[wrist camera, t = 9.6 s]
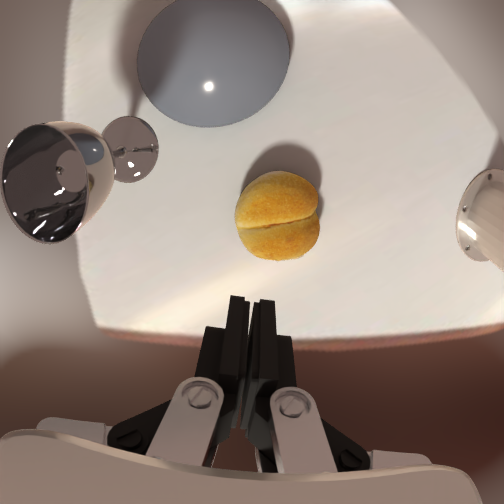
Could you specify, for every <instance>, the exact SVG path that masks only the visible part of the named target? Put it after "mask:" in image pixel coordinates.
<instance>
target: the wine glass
mask: <svg viewBox="0 0 504 504" xmlns="http://www.w3.org/2000/svg"><path fill="white" fill-rule="evenodd" d="M157 157H158V141H157V138H156V135H155V133H154V131H153V130H152V128H151V127H150V126H149V125H148V124H147V123H146V122H144V121H143V120H141V119H139V118H136V117H122V118H118V119H116V120H114V121H113V122H111V123H110V124H109V125H108V126H107V127H106V128H105V130H104V131H103V133H102V135H101V134H100V133H99V132H98V131H96V130H94V129H93V128H91V127H89V126H86V125H83V124H80V123H74V122H65V121H56V122H47V123H41V124H35V125H31V126H29V127H27V128H24V129H23V130H21V131H20V132H18V133H17V134H16V135H15V136H14V137H13V139H12V140H11V141H10V143H9V144H8V146H7V148H6V150H5V153H4V155H3V159H2V162H1V168H0V188H1V194H2V198H3V202H4V205H5V207H6V210H7V212H8V214H9V216H10V218H11V219H12V221H13V222H14V224H15V225H16V226H17V227H18V228H19V230H20V231H21V232H22V233H24V234H25V235H26V236H28V237H29V238H31V239H33V240H34V241H37V242H40V243H45V244H54V243H59V242H61V241H64V240H66V239H67V238H69V237H70V236H72V235H73V234H74V233H76V232H77V231H78V230H79V229H81V228H82V227H83V226H84V225H85V224H86V223H87V222H88V221H89V220H90V219H91V218H92V217H93V216H94V215H95V214H96V213H97V212H98V210H99V209H100V208H101V207H102V205H103V204H104V202H105V201H106V199H107V197H108V196H109V194H110V191H111V189H112V187H113V183H114V180H117V181H119V182H124V183H132V182H136V181H139V180H141V179H143V178H144V177H146V176H147V175H148V174H149V173H150V172H151V170H152V169H153V167H154V166H155V163H156V161H157Z"/></svg>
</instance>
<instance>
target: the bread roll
mask: <svg viewBox="0 0 504 504" xmlns="http://www.w3.org/2000/svg"><path fill="white" fill-rule="evenodd" d="M317 205H318V193H317V191H316V190H315V188H314V187H313V185H311V184H310V183H309V182H308V181H307V180H305V179H304V178H302V177H300V176H298V175H296V174H293V173H290V172H286V171H272V172H268V173H265V174H263V175H261V176H260V177H258V178H257V179H255V180H253V181H252V182H251V183H250V184H249V185H247V186H246V188H245V189H244V190H243V192H242V194H241V195H240V197H239V200H238V202H237V205H236V209H235V223H236V226H237V230H238V234H239V236H240V239H241V241H242V242H243V244H244V246H245V247H246V248H247V250H248V251H249V252H250V253H252V254H253V255H255V256H256V257H259V258H263V259H268V260H276V261H281V260H290V259H297V258H300V257H302V256H303V255H304V254H305V253H306V252H308V251H309V250H310V249H311V248H312V247H313V246H314V245H315V243H316V241H317V239H318V236H319V231H320V224H319V219H318V216H317V214H316V211H315V209H316V207H317Z"/></svg>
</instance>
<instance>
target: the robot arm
mask: <svg viewBox="0 0 504 504" xmlns="http://www.w3.org/2000/svg"><path fill="white" fill-rule="evenodd" d="M489 174H490V179H489V180H488V175H489ZM465 205H466V209H465V210H464V211H463V210H462V209H463V206H465ZM456 236H457V240H458V243H459V246H460V248H461V250H462V251H463V252H464V254H465V255H467V256H468V257H469V258H470V259H472V260H474V261H479V262H482V261H488V260H490V261H491V262H493V263H494V264H495V265H496V266H497V267H498V268H499V269H500V270H502V271H503V272H504V170H501V169H489V170H486V171H484V172H482V173H481V174H479V175H478V176H477V177H476V178H475V179H474V180H473V181H472V182H471V183H470V184H469V186H468V187H467V189H466V190H465V192H464V194H463V196H462V199H461V201H460V204H459V207H458V211H457V216H456ZM467 245H469V248H468V249H467V250H465V249H466V246H467ZM249 309H250V302H249V301H245V297H240V296H232V295H231V297H230V303H229V310H228V316H227V323H226V329H224V328H216V327H209V326H206V328H205V333H204V337H203V341H202V346H201V350H200V354H199V359H198V363H197V368H196V372H195V377H194V378H190V379H187V380H185V381H184V382H182V383H181V384H180V385H179V387H178V388H177V390H176V392H175V394H174V396H173V398H172V399H171V400H169V401H167V402H165V403H163V404H161V405H159V406H156V407H154V408H152V409H150V410H148V411H145V412H143V413H141V414H139V415H136V416H135V417H132V418H130V419H127V420H125V421H123V422H120V423H118V424H117V425H115V426H114V427H110V426H105V424H104V423H93V422H85V421H76V420H69V419H62V418H53V417H52V418H46V419H43V420H42V421H41V422H40V423H39V424H38V426H37V428H36V429H24V430H16V431H12V432H9V433H8V434H6V435H4V436H3V437H2V438H1V439H0V504H483V503H482V500H481V498H480V495H479V493H478V491H477V489H476V487H475V485H474V483H473V481H472V480H471V479H470V477H469V476H468V475H467V474H466V473H464V472H463V471H461V470H459V469H456V468H452V467H448V466H442V465H434V464H432V463H431V462H430V460H429V459H428V458H427V457H425V456H424V455H421V454H412V453H399V452H386V451H378V450H373V451H372V452H366V450H364V449H363V448H362V447H361V446H360V445H358V444H357V443H355V442H354V441H352V440H351V439H349V438H348V437H346V436H345V435H344V434H342V433H341V432H339V431H338V430H337V429H335V428H334V427H333V426H331V425H330V424H328V423H327V422H326V421H324V420H323V419H322V418H320V416H319V413H318V410H317V407H316V404H315V401H314V399H313V398H312V396H311V395H309V393H307V392H306V391H304V390H302V389H299V388H297V385H296V376H295V366H294V356H293V347H292V339H291V336H283V335H277V333H276V315H275V301H272V300H264V299H260V302H259V303H257V302H254V306H253V312H252V318H251V324H250V329H249V335H248V326H249ZM241 397H242V407H241V422H240V428H241V429H246V433H245V437H248V440H249V441H250V442H251V443H252V444H254V446H255V454H256V460H257V466H258V472H246V471H235V470H225V469H217V468H211V467H212V464H213V461H214V457H215V454H216V451H217V448H218V444H219V443H221V442H223V441H224V440H226V439H227V438H229V435H230V429H231V428H236V423H237V418H238V413H239V408H240V402H241Z"/></svg>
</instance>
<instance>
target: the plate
mask: <svg viewBox="0 0 504 504" xmlns="http://www.w3.org/2000/svg"><path fill="white" fill-rule="evenodd" d="M288 65H289V44H288V39H287V35H286V33H285V30H284V28H283V26H282V24H281V23H280V21H279V19H278V18H277V17H276V16H275V14H274V13H273V12H272V11H271V10H270V9H269V8H268V7H267V6H265V5H264V4H263V3H261V2H260V1H258V0H177V1H175V2H173V3H172V4H170V5H169V6H167V7H166V8H165V9H164V10H163V11H161V12H160V13H159V14H158V15H157V16H156V17H155V19H154V20H153V21H152V22H151V24H150V25H149V26H148V28H147V30H146V32H145V33H144V35H143V38H142V40H141V43H140V46H139V50H138V57H137V71H138V76H139V81H140V83H141V86H142V89H143V91H144V92H145V94H146V96H147V97H148V99H149V100H150V102H151V103H152V104H153V105H154V106H155V107H156V108H157V109H158V110H159V111H160V112H162V113H163V114H164V115H166V116H168V117H169V118H171V119H173V120H175V121H177V122H180V123H183V124H186V125H190V126H196V127H221V126H226V125H230V124H233V123H236V122H239V121H242V120H244V119H246V118H248V117H250V116H252V115H253V114H255V113H257V112H258V111H259V110H261V109H262V108H263V107H264V106H266V105H267V104H268V102H269V101H270V100H271V99H272V98H273V97H274V95H275V94H276V93H277V91H278V90H279V88H280V87H281V85H282V83H283V81H284V78H285V76H286V73H287V69H288Z"/></svg>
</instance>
